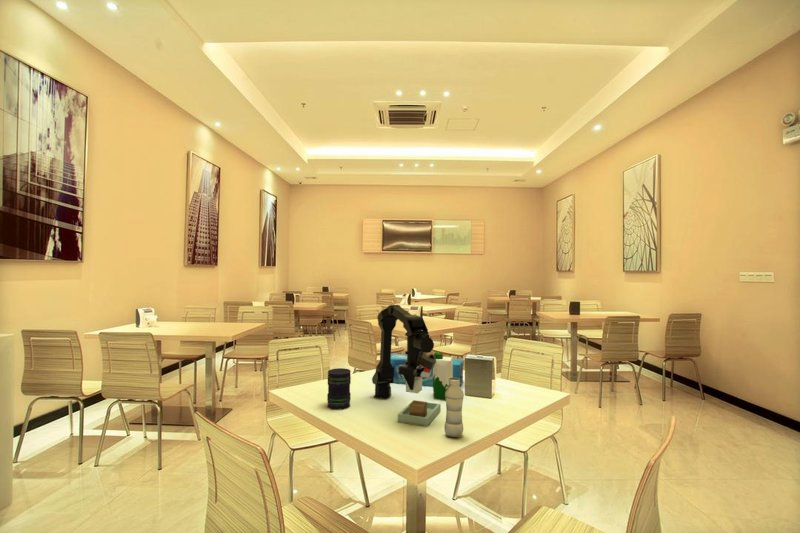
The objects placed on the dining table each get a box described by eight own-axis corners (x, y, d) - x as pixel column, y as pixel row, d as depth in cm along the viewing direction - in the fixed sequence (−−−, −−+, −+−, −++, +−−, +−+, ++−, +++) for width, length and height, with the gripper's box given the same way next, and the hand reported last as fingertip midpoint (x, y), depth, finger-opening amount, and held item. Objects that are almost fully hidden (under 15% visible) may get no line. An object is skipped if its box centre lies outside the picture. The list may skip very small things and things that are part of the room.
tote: (397, 422, 150) (397, 414, 150) (413, 407, 167) (413, 400, 167) (427, 426, 146) (427, 418, 146) (440, 411, 163) (440, 403, 163)
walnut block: (422, 419, 151) (422, 406, 151) (409, 417, 153) (409, 404, 153) (427, 414, 156) (427, 402, 156) (414, 412, 158) (414, 400, 158)
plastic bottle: (442, 432, 141) (443, 376, 142) (461, 431, 142) (461, 376, 142) (446, 439, 135) (446, 381, 135) (465, 439, 135) (465, 381, 136)
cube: (405, 391, 153) (405, 379, 154) (410, 388, 158) (410, 376, 158) (417, 393, 151) (417, 380, 152) (422, 389, 156) (422, 377, 156)
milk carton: (434, 393, 186) (434, 351, 187) (453, 395, 184) (453, 352, 185) (431, 399, 178) (432, 355, 178) (451, 401, 176) (452, 356, 176)
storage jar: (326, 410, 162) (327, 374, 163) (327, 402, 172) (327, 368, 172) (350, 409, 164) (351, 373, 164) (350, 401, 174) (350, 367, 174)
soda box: (382, 382, 205) (383, 358, 205) (391, 376, 218) (391, 353, 218) (459, 390, 193) (460, 363, 194) (463, 382, 206) (463, 358, 207)
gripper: (425, 354, 144) (425, 397, 143) (440, 346, 161) (440, 384, 160) (397, 352, 148) (397, 393, 147) (415, 344, 165) (415, 381, 165)
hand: (414, 388), depth 155 cm, fingers closed on cube, 5 cm apart
